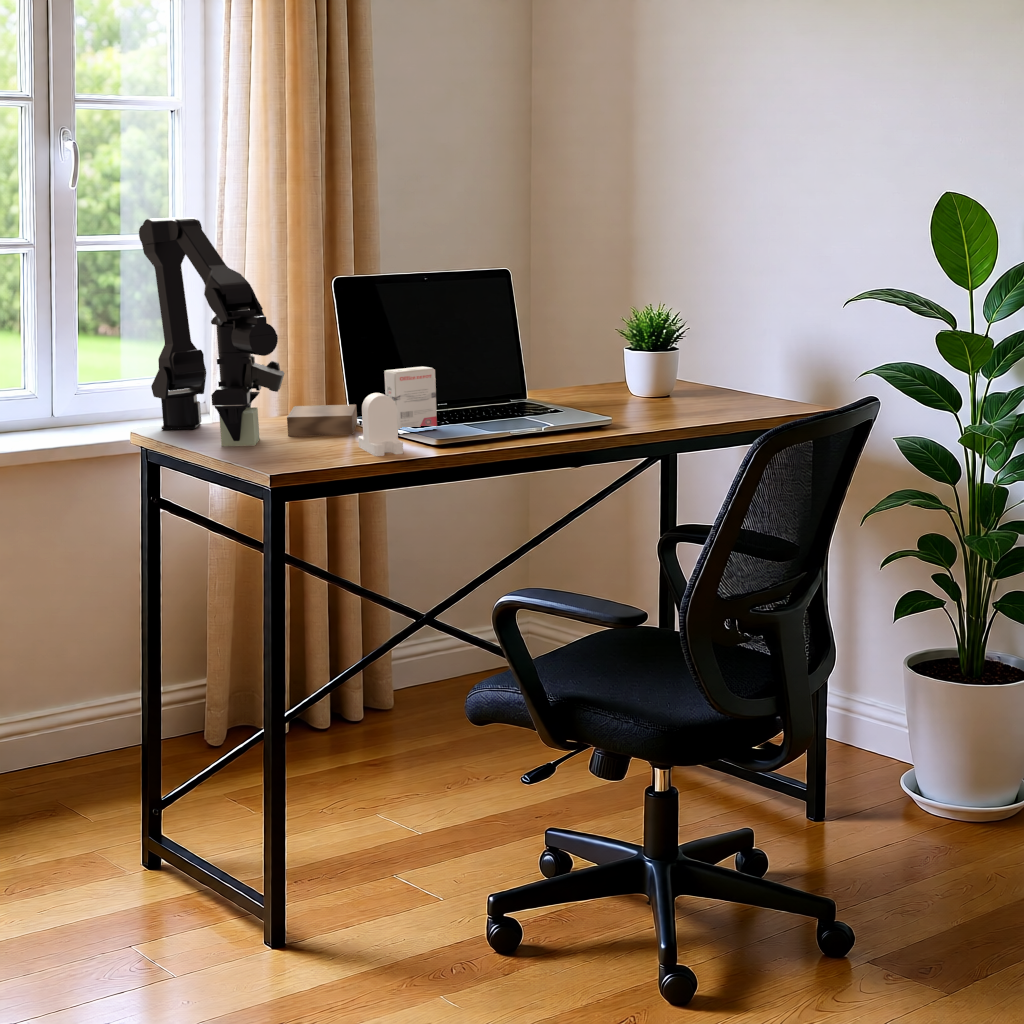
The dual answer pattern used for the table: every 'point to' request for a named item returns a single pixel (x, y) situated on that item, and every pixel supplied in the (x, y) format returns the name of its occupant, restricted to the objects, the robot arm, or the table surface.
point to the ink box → (413, 395)
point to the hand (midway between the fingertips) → (240, 436)
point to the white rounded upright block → (380, 426)
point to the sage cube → (243, 430)
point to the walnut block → (322, 420)
